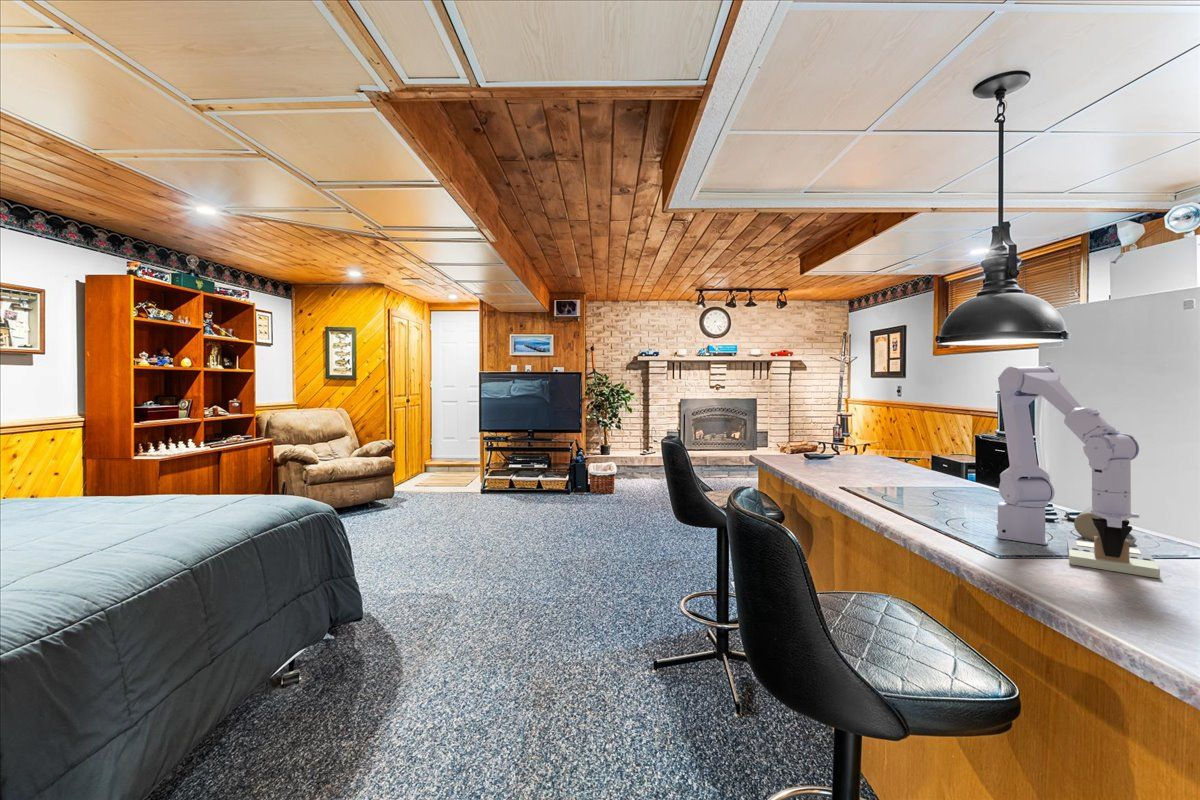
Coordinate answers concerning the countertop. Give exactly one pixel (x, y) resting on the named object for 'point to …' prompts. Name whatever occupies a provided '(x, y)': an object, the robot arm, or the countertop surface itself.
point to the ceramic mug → (1092, 526)
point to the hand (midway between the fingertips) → (1111, 554)
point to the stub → (1114, 561)
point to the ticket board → (1089, 547)
